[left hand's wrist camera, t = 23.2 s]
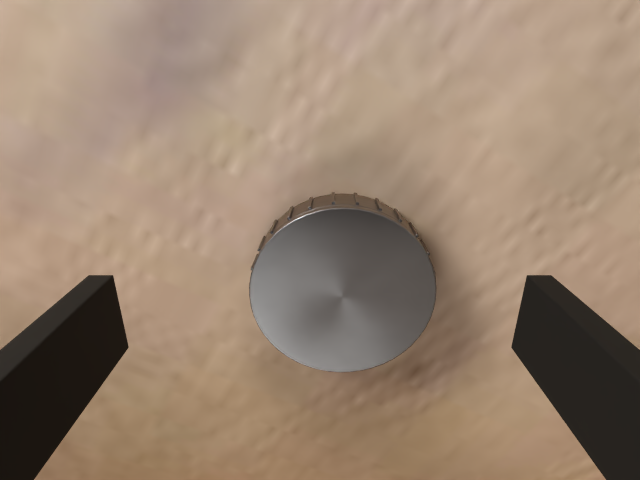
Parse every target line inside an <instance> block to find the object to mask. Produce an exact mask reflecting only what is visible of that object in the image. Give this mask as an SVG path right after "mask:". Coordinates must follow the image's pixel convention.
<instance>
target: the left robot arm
mask: <svg viewBox="0 0 640 480" xmlns="http://www.w3.org/2000/svg"><path fill="white" fill-rule="evenodd" d="M127 349H128V342H127V338H126V333H125V329H124V324H123V319H122V315H121V310H120V306H119V301H118V296H117V292H116V287H115V282H114V278H113V275H89V276H88V277H86V278H85V279H84V280H83V281H82V282H80V283H79V284H78V285H77V286H76V287H74V288H73V289H72V290H71V291H70V292H69V293H67V294H66V295H65V296H64V297H63V298H61V299H60V300H59V301H58V302H57V303H56V304H54V305H53V306H52V307H51V308H50V309H48V310H47V311H46V312H45V313H44V314H43V315H41V316H40V317H39V318H38V319H37V320H35V321H34V322H33V323H32V324H31V325H29V326H28V327H27V328H26V329H25V330H24V331H22V332H21V333H20V334H19V335H18V336H16V337H15V338H14V339H13V340H12V341H11V342H9V343H8V344H7V345H6V346H5V347H3V348H2V349H1V350H0V480H34V479H35V477H36V476H37V474H38V473H39V472H40V470H41V469H42V467H43V466H44V465H45V463H46V462H47V461H48V459H49V458H50V456H51V455H52V454H53V452H54V451H55V449H56V448H57V447H58V445H59V444H60V442H61V441H62V440H63V438H64V437H65V435H66V434H67V433H68V431H69V430H70V428H71V427H72V426H73V424H74V423H75V421H76V420H77V419H78V417H79V416H80V414H81V413H82V412H83V410H84V409H85V407H86V406H87V405H88V403H89V402H90V401H91V399H92V398H93V396H94V395H95V394H96V392H97V391H98V389H99V388H100V387H101V385H102V384H103V382H104V381H105V380H106V378H107V377H108V375H109V374H110V373H111V371H112V370H113V368H114V367H115V366H116V364H117V363H118V361H119V360H120V359H121V357H122V356H123V354H124V353H125V352H126V350H127ZM512 349H513V350H514V352H515V353H516V354H517V356H518V357H519V359H520V360H521V361H522V363H523V364H524V366H525V367H526V368H527V370H528V371H529V373H530V374H531V375H532V377H533V378H534V380H535V381H536V382H537V384H538V385H539V387H540V388H541V389H542V391H543V392H544V394H545V395H546V396H547V398H548V399H549V401H550V402H551V403H552V405H553V406H554V407H555V409H556V410H557V412H558V413H559V414H560V416H561V417H562V419H563V420H564V421H565V423H566V424H567V426H568V427H569V428H570V430H571V431H572V433H573V434H574V435H575V437H576V438H577V440H578V441H579V442H580V444H581V445H582V447H583V448H584V449H585V451H586V452H587V454H588V455H589V456H590V458H591V459H592V461H593V462H594V463H595V465H596V466H597V467H598V469H599V470H600V472H601V473H602V474H603V476H604V477H605V479H606V480H640V350H639V349H638V348H637V347H635V346H634V345H633V344H632V343H631V342H629V341H628V340H627V339H626V338H625V337H624V336H622V335H621V334H620V333H619V332H618V331H616V330H615V329H614V328H613V327H612V326H611V325H609V324H608V323H607V322H606V321H605V320H603V319H602V318H601V317H600V316H599V315H597V314H596V313H595V312H594V311H593V310H592V309H590V308H589V307H588V306H587V305H586V304H584V303H583V302H582V301H581V300H580V299H579V298H577V297H576V296H575V295H574V294H573V293H571V292H570V291H569V290H568V289H567V288H565V287H564V286H563V285H562V284H561V283H560V282H558V281H557V280H556V279H555V278H554V277H552V276H551V275H527V278H526V282H525V287H524V292H523V296H522V301H521V306H520V310H519V315H518V319H517V324H516V329H515V333H514V338H513V342H512Z"/></svg>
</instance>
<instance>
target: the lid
mask: <svg viewBox="0 0 640 480" xmlns="http://www.w3.org/2000/svg"><path fill="white" fill-rule="evenodd" d="M418 237H419V235H418V234H417V232H416V230H415V228H414V227H413V225H412V223H411V222H410V223H408V222H407V221H406V220H405V219H404V218H403V217H402V216H401V215H400V214H399V212H398V211H397V209H394V210H393V209H392V208H390V207H389V206H387V205H385V204H383V203H381V202H379V200H378V199H377V198H376V199H375V200H374V199H371V198H368V197H364V196H359V195H357V193H354V195H353V194H335V193H334V192H332V194H331V195H325V196H320V197H317V198H313V197H310V199H309V200H308V201H305V202H303V203H301V204H299V205H297V206H296V207H293V206H292V207H290V210H289V211H288V212H287V213H286V214H284V215H283V216H282V217H281V218H280V219H279V220H278V221H277V220H275V221H274V224H273V226H272V228H271V230H270V231H269V233H268V234H267V236H264V237H263V239H262V241H261V244H260V246H259V248H258V251H259V254H257V255H256V258H255V260H254V262H253V265H252V267H251V270H252V273H251V278H250V284H249V296H250V303H251V308H252V311H253V315H254V317H255V319H256V322H257V324H258V326H259V328H260V329H261V331H262V332H263V334H264V335H265V336H266V338H267V339H268V340H269V341H270V342H271V344H273V345H274V346H275V347H276V348H277V349H278V350H279V351H280V352H282V353H283V354H285V355H286V356H287V357H289V358H291V359H293V360H294V361H296V362H298V363H301V364H303V365H305V366H308V367H311V368H315V369H318V370H324V371H330V372H354V371H361V370H365V369H369V368H373V367H376V366H379V365H381V364H384V363H386V362H388V361H390V360H392V359H394V358H395V357H397V356H398V355H400V354H402V353H403V352H404V351H405V350H407V349H408V348H409V347H410V346H411V345H412V344H413V343H414V342H415V341H416V340H417V339H418V338H419V336H420V335H421V334H422V332H423V331H424V329H425V328H426V326H427V324H428V322H429V320H430V318H431V315H432V312H433V309H434V305H435V300H436V278H435V271H434V269H433V266H432V263H431V261H430V258H429V256H428V255H430V254H429V251H428V250H427V248H426V246H425V245H424V243H423V241H422V239H421V240H419V238H418Z"/></svg>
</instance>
